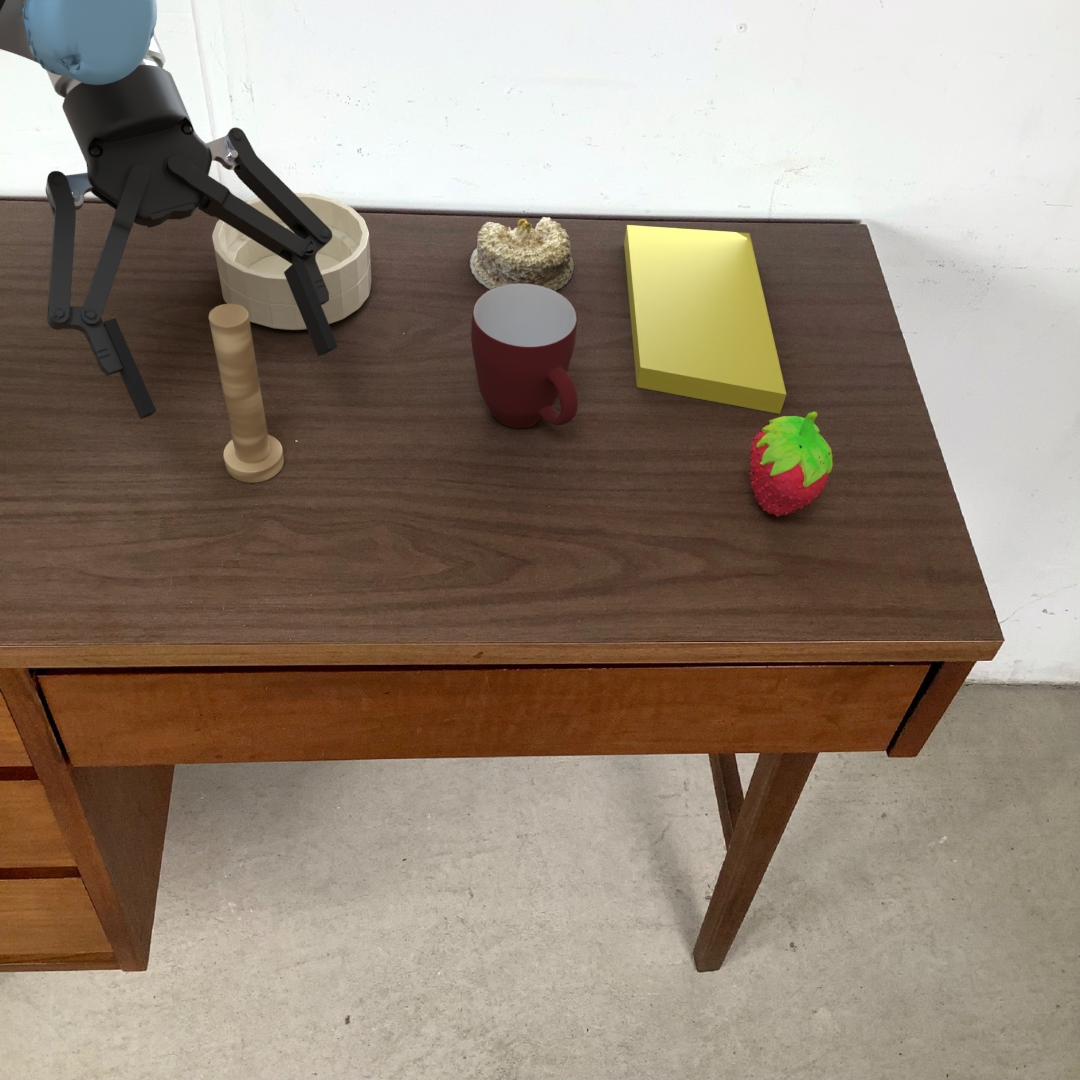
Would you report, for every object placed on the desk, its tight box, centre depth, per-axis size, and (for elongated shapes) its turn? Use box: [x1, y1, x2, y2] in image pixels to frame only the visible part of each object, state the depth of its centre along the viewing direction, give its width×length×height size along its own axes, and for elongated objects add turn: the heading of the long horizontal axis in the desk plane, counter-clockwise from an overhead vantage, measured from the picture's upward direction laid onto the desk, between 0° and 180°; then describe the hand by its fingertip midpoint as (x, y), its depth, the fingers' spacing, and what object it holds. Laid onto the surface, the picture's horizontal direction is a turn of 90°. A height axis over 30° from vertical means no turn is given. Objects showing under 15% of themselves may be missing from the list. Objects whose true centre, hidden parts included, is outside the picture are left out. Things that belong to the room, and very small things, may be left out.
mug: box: [470, 283, 579, 429], centre depth 84 cm, size 11×8×10 cm
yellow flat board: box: [623, 224, 787, 415], centre depth 97 cm, size 12×2×24 cm
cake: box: [469, 216, 575, 292], centre depth 100 cm, size 10×10×5 cm
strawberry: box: [749, 411, 834, 517], centre depth 80 cm, size 6×7×10 cm
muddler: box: [208, 303, 285, 484], centre depth 77 cm, size 4×4×14 cm
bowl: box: [211, 192, 373, 331], centre depth 95 cm, size 13×13×6 cm
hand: (241, 382), depth 75 cm, fingers open, 13 cm apart
